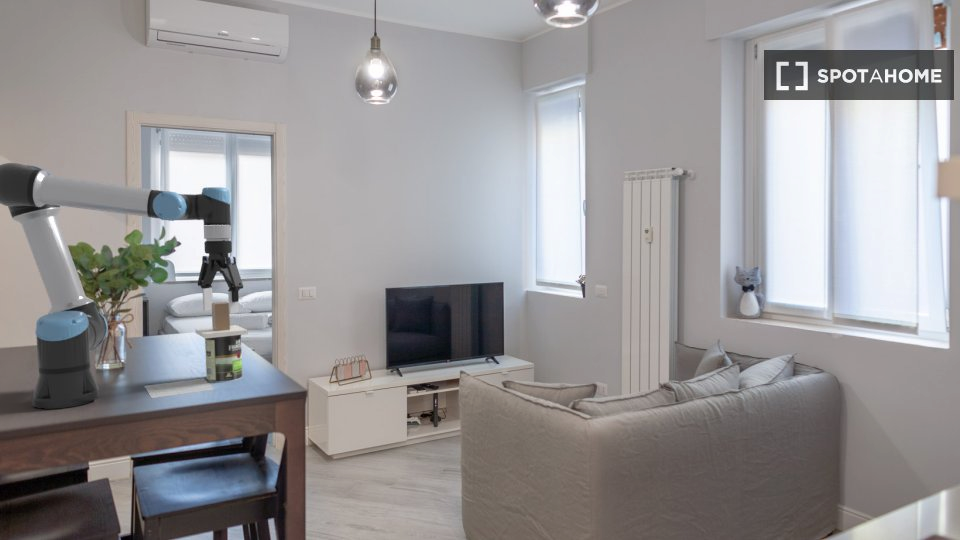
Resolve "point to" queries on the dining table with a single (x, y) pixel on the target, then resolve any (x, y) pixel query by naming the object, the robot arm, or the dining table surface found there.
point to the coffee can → (223, 358)
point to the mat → (178, 388)
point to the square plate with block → (221, 323)
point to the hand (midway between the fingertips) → (220, 311)
